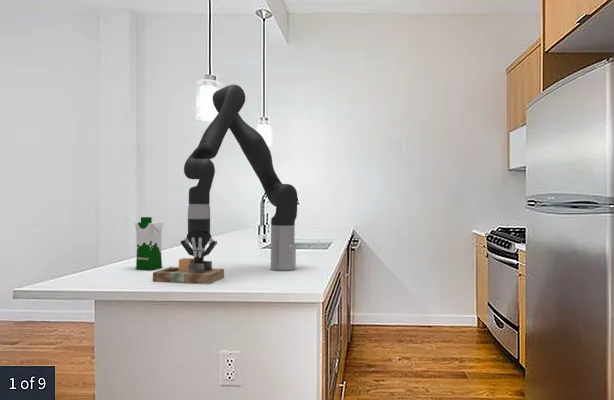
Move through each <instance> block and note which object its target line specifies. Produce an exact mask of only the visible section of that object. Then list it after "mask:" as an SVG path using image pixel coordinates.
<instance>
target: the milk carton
mask: <svg viewBox="0 0 614 400" xmlns="http://www.w3.org/2000/svg"><path fill="white" fill-rule="evenodd" d="M134 225H135V231H136V259H135V261H136V262H135V269H136V270H139V271H155V270H159V269H163V264H162V263H163V261H162V233H163V232H162V231H163V226H164V222H161V221H158V222H157V221H153V218H152V217H151V216H141V217H140V221H139V222H138V221H137V222H135V223H134Z"/></svg>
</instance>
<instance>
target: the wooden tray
mask: <svg viewBox="0 0 614 400" xmlns="http://www.w3.org/2000/svg"><path fill="white" fill-rule="evenodd" d="M221 278H222V279H224V278H225V268H213V261H212V260H204V264H196V263H189V272H185V271H179V266H169V267H166V268H164V269H163V268H162V269H161V270H157V271H153V272H152V282H153V281H154V282H153V283H155V282H156V283H157V282H158V283H179V284H197V283H211V284H213V283H215V282H217V281H216V280H218V281H220V280H221ZM219 279H220V280H219ZM214 281H215V282H214ZM212 282H213V283H212Z"/></svg>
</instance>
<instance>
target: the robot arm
mask: <svg viewBox="0 0 614 400" xmlns="http://www.w3.org/2000/svg"><path fill="white" fill-rule="evenodd" d="M245 102H246V94H245V91H244V89H243V88H242V87H241V86H239V85H238V84H229V85H226V86H224V87H222V88H220V89H218V90H216V91H215V92H213V95H212V104H213V105H214V108H215V110H216V111H217V113H218V114H217V115H216V116H215V117H214V119H212V122H211V123H210V124H209V125H208V126H207V127H206V129H205V131H204V132H203V135H202V136H201V139H200V141H199V144H198V145H197V147H196V148H195V149H194V150H193V151H192V153H191V154H190V155H189V156H188V157H187V159H186V161H185V163H184V165H183V173H184V175H185V177H186V178H188V179H190V180H198V182H197V185H194V186H192V187H190V188H189V189H188V208H187V234H186V238H184V239H182V240H181V241H180V244H181V246H182V247H183V248H184V250H185V251H186V252H187V254H188V255H189V256H192V257H193V258H194V263H196V264H204V261H205V260H204V257H206V256H208V255H210V253H211V252H213V250H214V248H215V247H216V246H217V244H218V241H217V240H215V239H213V238H212V234H211V205H210V204H211V203H210V202H211V201H210V198H211V196H210V193H211V189H212V186H213V185H212V184H213V182H214V178H215V173H216V168H215V165H214V162H213V161H212V159H215V158H216V157H217V155H218V153H219V150H220V148H221V145H222V143H223V141H224V138H225V136H226V134H227V132H228V131H229V130H230V132H231V133H232V135H233V137H234V138H235V140H236V141H237V143H238V144H239V148H240V149H241V152H243V155H244V156H245V158H246V160H247V161H248V162H249V164H250V166H251V168H252V169H253V171H254V173H255V175H256V176H257V177H258V179H259V181H260V184H261V185H262V189H263V191H264V193H265V195H266V197H267V199H268V201H269V203H270V204H271V206H274V207H275V213H274V215H273V216H272V217H271V219H270V270H273V271H294V270H295V269H297V268H296V267H297V265H296V263H297V262H296V258H297V257H296V255H297V253H296V251H297V244H295V239H296V238H295V235H296V234H295V232H296V231H295V230H296V229H295V227H296V224H295V223H296V222H295V221H296V219H297V216H298V191H297V189H296V188H295V186H294V185H293V184H288V183H282V181H281V180H280V179H279V176H278V175H277V173H276V171H275V169H274V164H273V157H272V153H271V150H270V148H269V146H268V144H267V142H266V140H265V139H264V137H263V136H262V134H261V133H259V131H257V130H256V129H255V128H253V127H252V126H250V125H249V124H248V123H247V122H246V121H244V120H243V118H242V117H241V115H240V114H239V113H240V111H241V109H242V108H243V107H244V104H245ZM207 245H209V246H207ZM206 246H207V247H206Z"/></svg>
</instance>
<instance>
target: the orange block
mask: <svg viewBox="0 0 614 400" xmlns="http://www.w3.org/2000/svg"><path fill="white" fill-rule="evenodd" d="M189 263H194V257H193V258H191V257H190V258H189V257H187V258H186V257H183V258H180V259H179V258H178V267H179V271H185V272H189Z"/></svg>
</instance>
